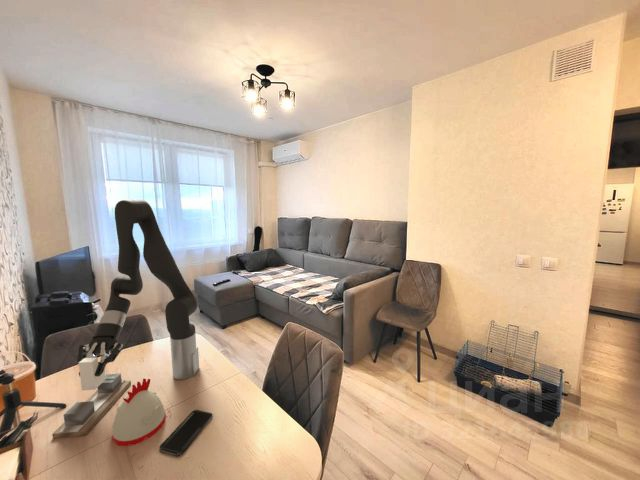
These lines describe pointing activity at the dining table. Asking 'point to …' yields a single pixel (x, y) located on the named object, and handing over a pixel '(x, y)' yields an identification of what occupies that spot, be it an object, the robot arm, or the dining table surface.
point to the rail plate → (96, 416)
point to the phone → (185, 433)
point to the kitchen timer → (138, 416)
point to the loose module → (90, 374)
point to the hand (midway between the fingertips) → (89, 376)
